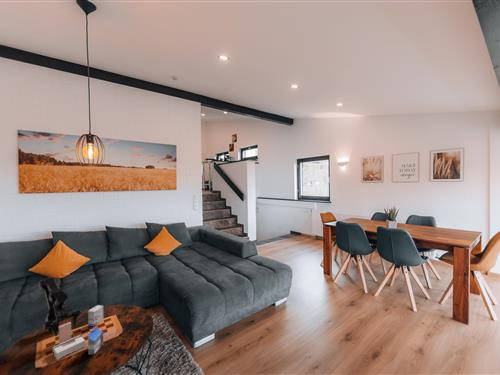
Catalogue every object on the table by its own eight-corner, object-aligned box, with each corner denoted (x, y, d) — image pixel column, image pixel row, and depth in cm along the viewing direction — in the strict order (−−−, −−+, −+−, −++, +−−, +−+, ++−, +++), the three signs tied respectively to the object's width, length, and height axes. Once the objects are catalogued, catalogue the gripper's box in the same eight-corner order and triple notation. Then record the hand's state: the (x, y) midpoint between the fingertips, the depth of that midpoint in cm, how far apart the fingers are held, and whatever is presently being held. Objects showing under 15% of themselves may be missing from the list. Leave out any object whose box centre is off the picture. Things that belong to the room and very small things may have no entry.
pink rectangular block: (58, 346, 147) (58, 326, 146) (70, 341, 152) (70, 321, 151) (59, 348, 146) (59, 327, 145) (71, 342, 150) (71, 322, 150)
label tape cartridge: (94, 354, 140) (94, 334, 140) (87, 354, 140) (87, 334, 140) (103, 344, 149) (103, 325, 149) (97, 344, 149) (97, 325, 149)
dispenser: (52, 353, 141) (52, 346, 141) (80, 340, 152) (80, 334, 152) (57, 360, 136) (56, 352, 136) (85, 346, 147) (85, 339, 147)
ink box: (93, 328, 165) (93, 311, 165) (88, 327, 166) (87, 310, 166) (103, 320, 174) (103, 305, 173) (98, 320, 175) (97, 304, 174)
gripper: (43, 309, 143) (49, 334, 136) (79, 297, 158) (86, 319, 151) (40, 317, 148) (45, 342, 141) (76, 305, 163) (82, 327, 156)
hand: (65, 332), depth 148 cm, fingers open, 9 cm apart
